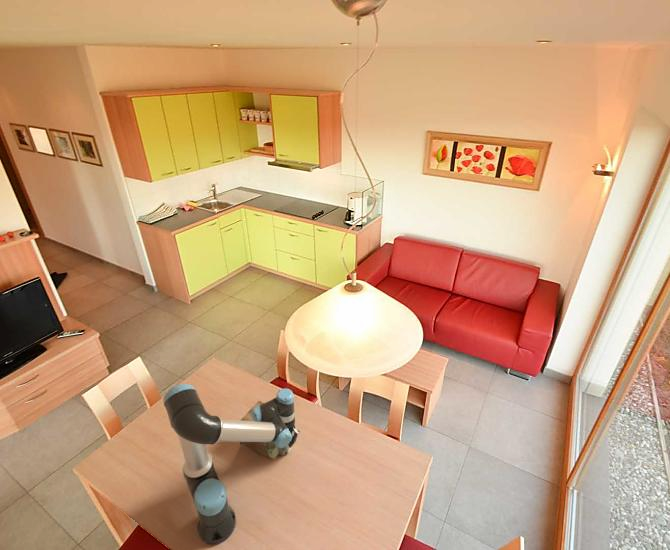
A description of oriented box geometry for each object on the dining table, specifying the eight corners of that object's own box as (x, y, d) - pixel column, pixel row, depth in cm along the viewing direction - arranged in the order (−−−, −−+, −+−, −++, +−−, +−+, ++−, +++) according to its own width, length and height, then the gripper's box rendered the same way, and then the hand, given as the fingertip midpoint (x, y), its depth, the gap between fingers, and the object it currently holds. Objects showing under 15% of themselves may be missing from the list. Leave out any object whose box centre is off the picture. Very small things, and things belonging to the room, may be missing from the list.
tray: (279, 462, 187) (278, 454, 185) (246, 444, 196) (245, 436, 193) (295, 439, 198) (295, 432, 195) (264, 423, 206) (263, 416, 204)
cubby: (267, 459, 189) (264, 438, 182) (240, 444, 196) (236, 423, 189) (286, 433, 202) (285, 413, 195) (261, 420, 209) (258, 400, 202)
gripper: (302, 417, 180) (304, 449, 192) (280, 405, 186) (282, 438, 197) (293, 428, 174) (295, 461, 186) (270, 417, 180) (273, 449, 192)
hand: (288, 449), depth 192 cm, fingers closed
